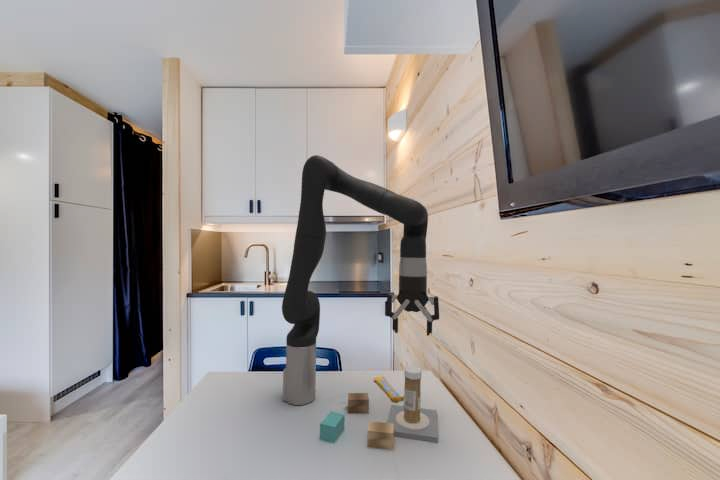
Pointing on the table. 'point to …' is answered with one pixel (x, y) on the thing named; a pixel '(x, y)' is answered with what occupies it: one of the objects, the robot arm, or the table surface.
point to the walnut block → (358, 403)
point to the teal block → (332, 427)
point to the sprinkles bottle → (412, 394)
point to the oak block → (381, 435)
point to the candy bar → (388, 389)
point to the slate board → (414, 424)
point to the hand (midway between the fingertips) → (412, 333)
